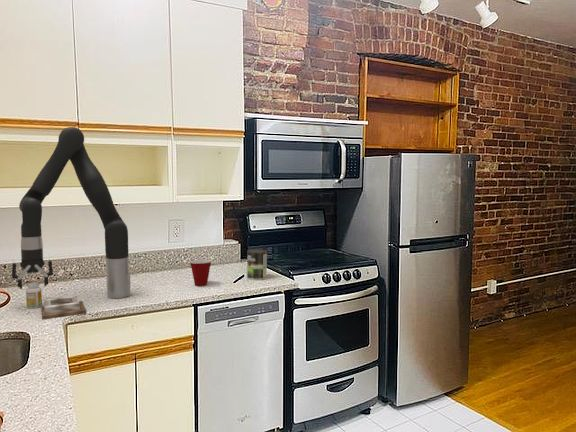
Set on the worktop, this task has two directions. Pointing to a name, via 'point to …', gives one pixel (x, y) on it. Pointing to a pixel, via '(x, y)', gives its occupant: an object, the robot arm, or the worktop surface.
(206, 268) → the plastic cup
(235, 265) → the worktop surface
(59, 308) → the frame
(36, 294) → the supplement bottle
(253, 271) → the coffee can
